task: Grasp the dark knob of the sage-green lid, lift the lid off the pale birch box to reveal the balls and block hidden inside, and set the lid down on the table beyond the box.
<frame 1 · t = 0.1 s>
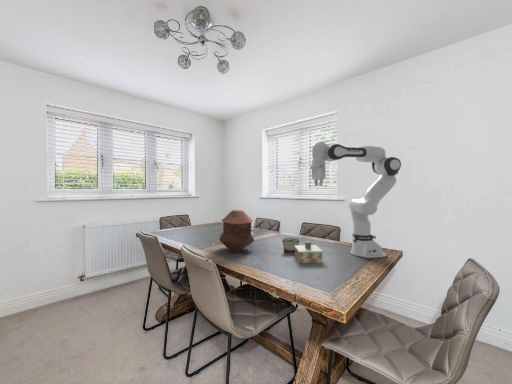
hand: (318, 185, 161), 48 cm above the table, fingers open, 8 cm apart
grey block: (302, 257, 153), point 1 cm above the table, touching box
lid: (308, 249, 150), point 7 cm above the table, touching box
food container: (290, 252, 167), on the table
box: (307, 260, 150), on the table
pottery vessel: (236, 250, 173), on the table
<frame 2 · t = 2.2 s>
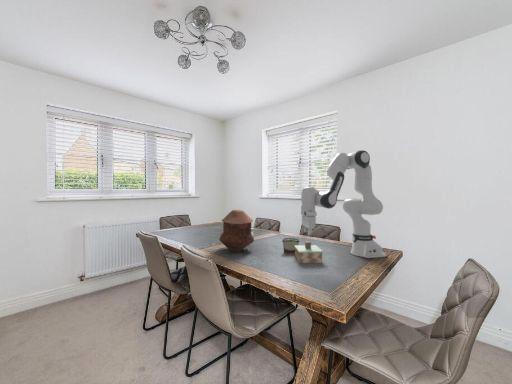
hand: (307, 233, 149), 17 cm above the table, fingers open, 8 cm apart
nothing on the table moved.
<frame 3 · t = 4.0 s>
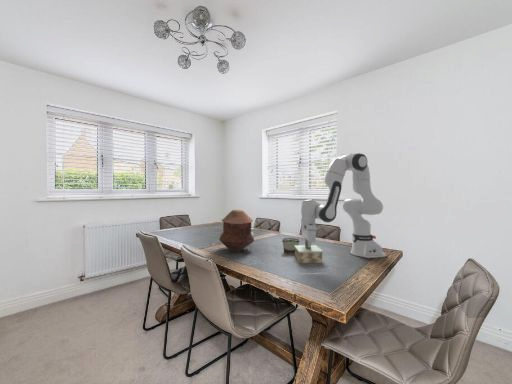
hand: (308, 246, 149), 9 cm above the table, fingers closed on lid, 3 cm apart
lid: (308, 249, 150), point 7 cm above the table, touching box, gripper
everything else where it was.
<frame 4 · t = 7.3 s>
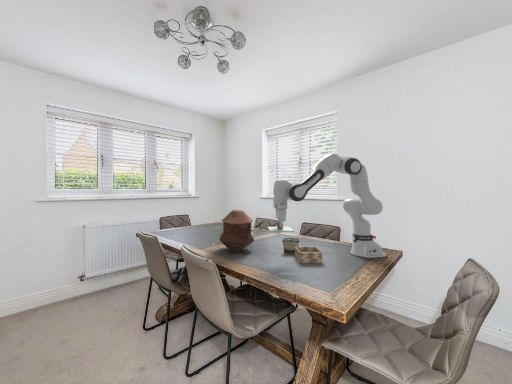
hand: (280, 226, 149), 22 cm above the table, fingers closed on lid, 3 cm apart
lid: (280, 229, 149), point 20 cm above the table, touching gripper
everything else where it was.
when the fingers open (4 cm above the table, at t = 10.5 s): lid drops 2 cm, on the table.
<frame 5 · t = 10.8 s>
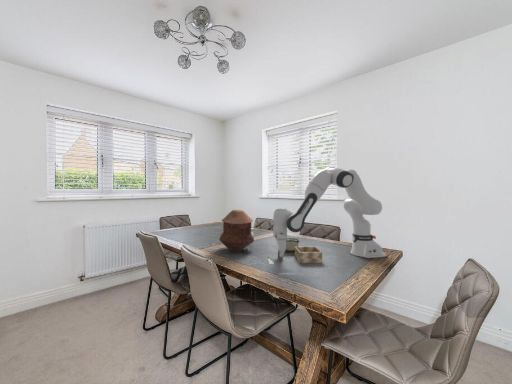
hand: (280, 254, 149), 4 cm above the table, fingers open, 5 cm apart
lid: (280, 261, 149), on the table
everything else where it was.
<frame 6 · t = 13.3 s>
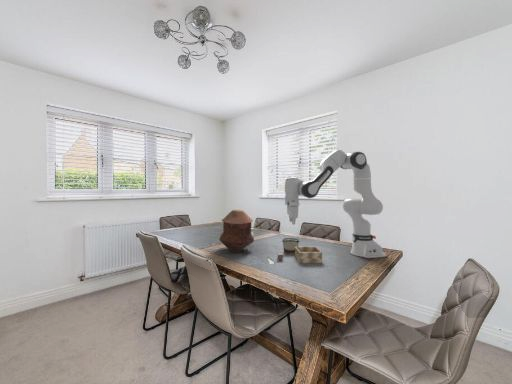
hand: (292, 222, 153), 24 cm above the table, fingers open, 8 cm apart
nothing on the table moved.
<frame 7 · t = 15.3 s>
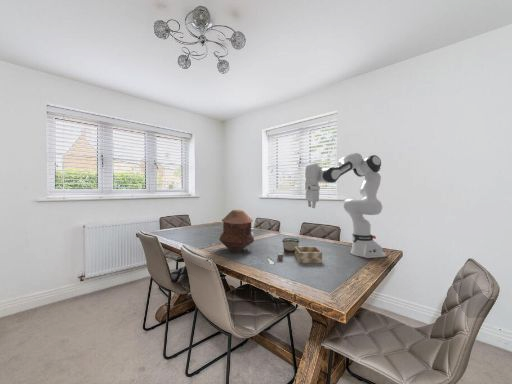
hand: (311, 207, 159), 33 cm above the table, fingers open, 8 cm apart
nothing on the table moved.
at the end: lid inside the target area (0.1 cm from its centre), on the table; lid touching table; the gripper is holding nothing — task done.
